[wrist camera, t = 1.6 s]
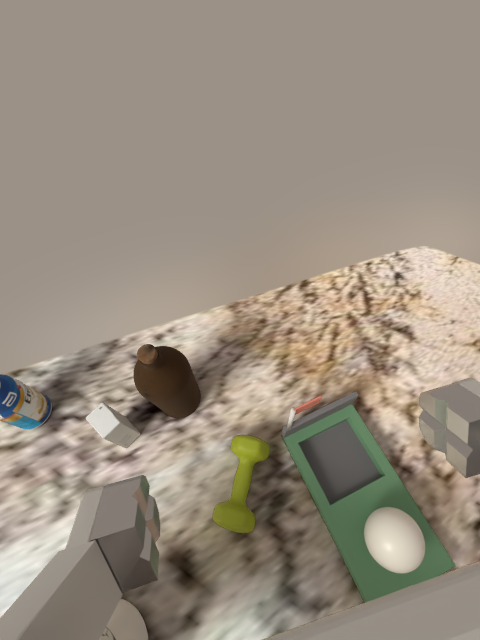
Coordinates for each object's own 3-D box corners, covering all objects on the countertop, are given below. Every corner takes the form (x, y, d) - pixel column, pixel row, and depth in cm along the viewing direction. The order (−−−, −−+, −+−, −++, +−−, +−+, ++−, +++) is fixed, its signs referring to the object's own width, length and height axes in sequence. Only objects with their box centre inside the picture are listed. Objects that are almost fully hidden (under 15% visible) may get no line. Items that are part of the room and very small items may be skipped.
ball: (399, 582, 55) (421, 594, 47) (349, 543, 58) (362, 548, 50) (420, 529, 58) (444, 532, 50) (371, 496, 61) (387, 493, 53)
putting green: (447, 563, 58) (529, 586, 40) (369, 611, 55) (418, 659, 37) (346, 403, 73) (372, 368, 55) (281, 436, 70) (286, 409, 52)
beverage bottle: (10, 414, 77) (-64, 385, 60) (41, 387, 80) (-21, 352, 63) (28, 438, 74) (-45, 416, 57) (60, 410, 77) (0, 380, 59)
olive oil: (205, 417, 73) (179, 377, 52) (158, 424, 73) (112, 388, 52) (201, 372, 79) (177, 320, 57) (157, 379, 79) (116, 329, 57)
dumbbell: (235, 436, 71) (232, 428, 65) (272, 445, 70) (272, 439, 63) (212, 522, 63) (206, 523, 57) (252, 535, 62) (251, 538, 56)
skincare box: (109, 430, 73) (84, 417, 63) (124, 416, 75) (102, 400, 65) (126, 450, 71) (102, 439, 61) (141, 434, 73) (121, 421, 62)
